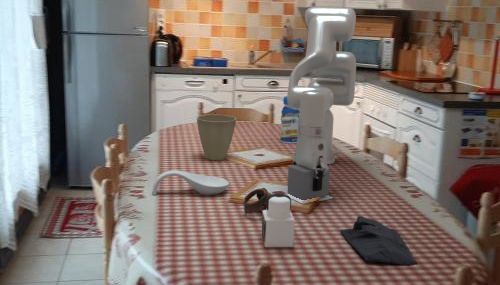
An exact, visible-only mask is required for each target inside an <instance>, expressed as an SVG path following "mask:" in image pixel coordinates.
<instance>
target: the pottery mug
mask: <svg viewBox="0 0 500 285" xmlns="http://www.w3.org/2000/svg"><path fill="white" fill-rule="evenodd" d="M271 194H272V193H270V192H269V191H268V189H267V188H265V187H262V188H256V189H254V190H251V191H250V192H248V194H246V195H245V197H244V201H242V202H243V205H244V206H243V210H244V213H245V214H248V213H250V214H252V213H256V212H258V211H261V212H262V211H263V210H264V208H263V207H265V208H266V200H267V197H268V196H269V195H271ZM255 196H256V198H257V201H254V202H252V203H249V200H250V199H252V198H253V197H255Z"/></svg>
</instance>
